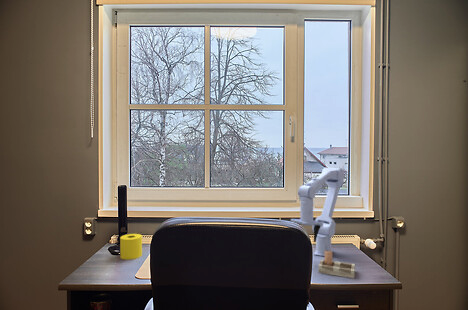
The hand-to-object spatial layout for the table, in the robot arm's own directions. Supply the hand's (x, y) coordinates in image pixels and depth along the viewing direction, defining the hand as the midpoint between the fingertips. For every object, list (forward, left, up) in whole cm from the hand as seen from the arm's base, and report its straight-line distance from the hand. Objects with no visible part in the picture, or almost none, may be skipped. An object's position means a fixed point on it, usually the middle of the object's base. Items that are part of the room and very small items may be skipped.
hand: (306, 240), depth 139 cm
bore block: (+7, +14, -10) cm, 18 cm away
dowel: (+7, +11, -9) cm, 15 cm away
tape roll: (+27, -80, -10) cm, 85 cm away
